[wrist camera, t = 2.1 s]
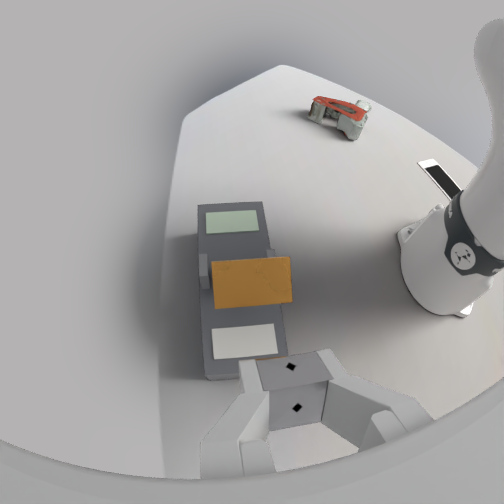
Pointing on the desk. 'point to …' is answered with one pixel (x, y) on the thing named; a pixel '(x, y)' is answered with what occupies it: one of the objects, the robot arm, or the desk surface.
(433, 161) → the cell phone
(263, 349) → the block
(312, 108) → the tape dispenser
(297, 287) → the desk surface
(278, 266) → the lever
